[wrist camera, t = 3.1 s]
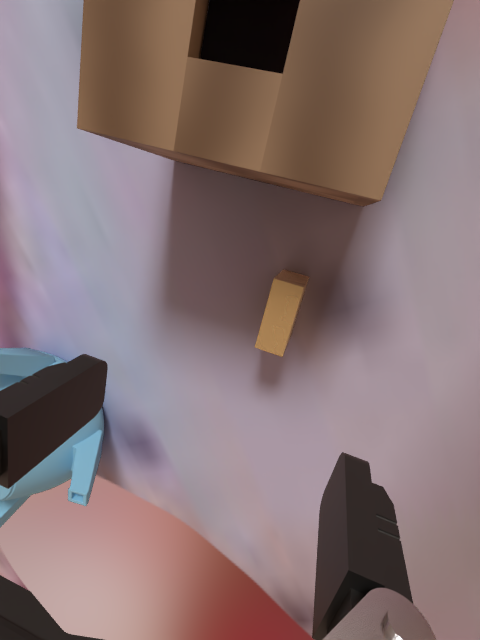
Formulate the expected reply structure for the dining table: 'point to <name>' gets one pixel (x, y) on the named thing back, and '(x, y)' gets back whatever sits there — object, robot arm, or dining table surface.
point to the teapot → (67, 460)
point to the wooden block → (281, 312)
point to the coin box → (263, 91)
